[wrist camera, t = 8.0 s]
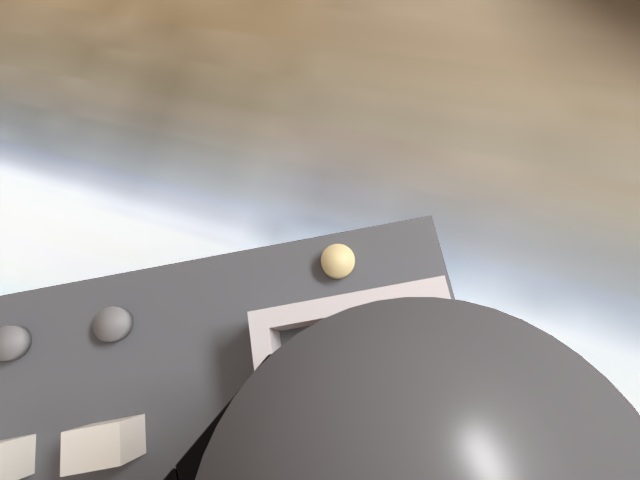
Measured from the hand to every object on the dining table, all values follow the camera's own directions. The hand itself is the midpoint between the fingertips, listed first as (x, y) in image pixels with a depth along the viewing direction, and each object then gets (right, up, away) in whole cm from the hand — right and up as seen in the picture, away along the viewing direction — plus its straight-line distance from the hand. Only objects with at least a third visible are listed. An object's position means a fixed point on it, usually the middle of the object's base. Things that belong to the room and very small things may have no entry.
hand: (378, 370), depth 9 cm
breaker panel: (-7, -4, +9) cm, 12 cm away
